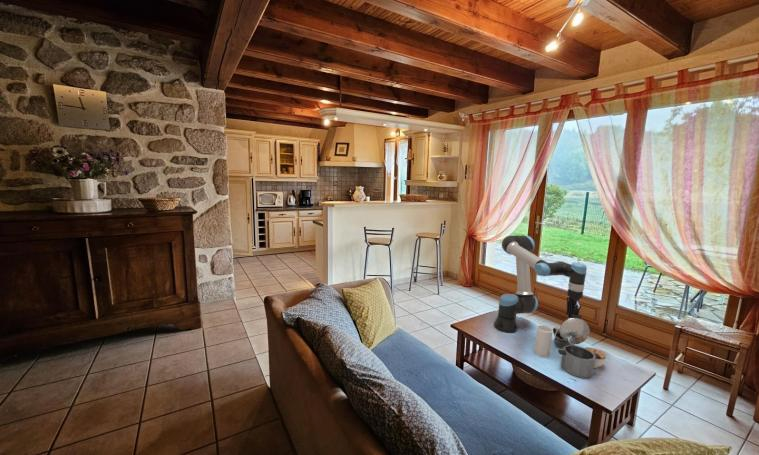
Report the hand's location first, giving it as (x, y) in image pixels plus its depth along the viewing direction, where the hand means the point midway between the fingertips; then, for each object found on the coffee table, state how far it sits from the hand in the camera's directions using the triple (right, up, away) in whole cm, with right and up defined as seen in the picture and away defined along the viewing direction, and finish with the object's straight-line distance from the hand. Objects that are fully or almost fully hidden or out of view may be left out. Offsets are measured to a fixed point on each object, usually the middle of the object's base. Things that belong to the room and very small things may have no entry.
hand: (569, 328), depth 188 cm
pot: (-3, -19, -11) cm, 22 cm away
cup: (-14, -17, +5) cm, 22 cm away
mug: (+2, -16, +15) cm, 22 cm away
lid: (-1, +1, -6) cm, 7 cm away
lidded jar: (+10, -19, -5) cm, 22 cm away
